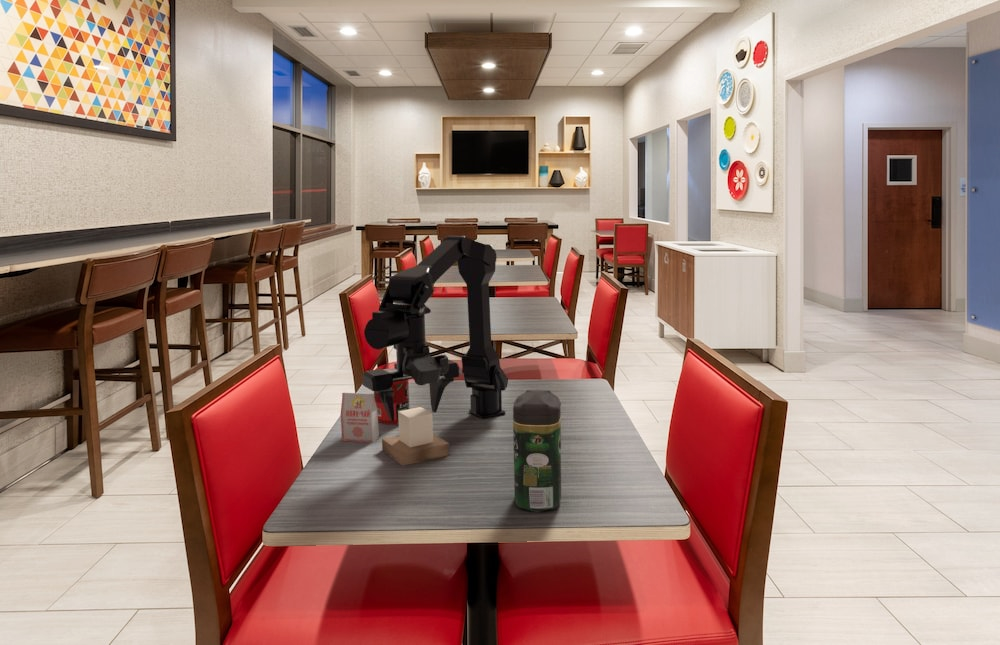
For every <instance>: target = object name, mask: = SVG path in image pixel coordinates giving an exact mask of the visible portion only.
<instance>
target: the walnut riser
mask: <svg viewBox="0 0 1000 645" xmlns="http://www.w3.org/2000/svg"><path fill="white" fill-rule="evenodd" d="M381 446H382V448H381V449H382V451H383V452H385V453H386V454H387V455H388V456H390V458H392V459H393V460H395V461H396V462H397V463H399V465H401V466H402V467H403V466H407V465H411V464H416V463H420V462H425V461H429V460H434V459H439V458H441V457H446V456H450V444H449V442H447V441H446V440H445V439H443V438H441V437H440V436H438V435H437V434H435V433H433V442H432V443H428V444H423V445H419V446H414V447H409V446H407V445H406V444H404V443H403V442H401V441H400V440H399V434H397V435H393V436H387V437H384V438H381Z"/></svg>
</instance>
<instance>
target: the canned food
mask: <svg viewBox="0 0 1000 645" xmlns="http://www.w3.org/2000/svg"><path fill="white" fill-rule="evenodd" d="M382 369H383V368H382ZM383 370H385V371H387V372H389V373H390V372H397V370H396V369H394V368H385V369H383ZM403 376H405V375H403ZM409 386H410V385H409V379H408V380H402V381H396V382H393V385H392V386H391V388H392V389H393V390H395V391H394V394H393V405H394V421H391V420H390V418H389V416H388V414H387V412H386V410H385V408H384V405H383V403H382V401H381V399H380V398H379V396H378V394H377V393H376V392H374V391H373V394H374V398H375V403H376V406H377V412H378V423H380V424H385V425H398V424H399V420H398V411H403V410H408V409H410V389H409V388H410V387H409Z"/></svg>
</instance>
